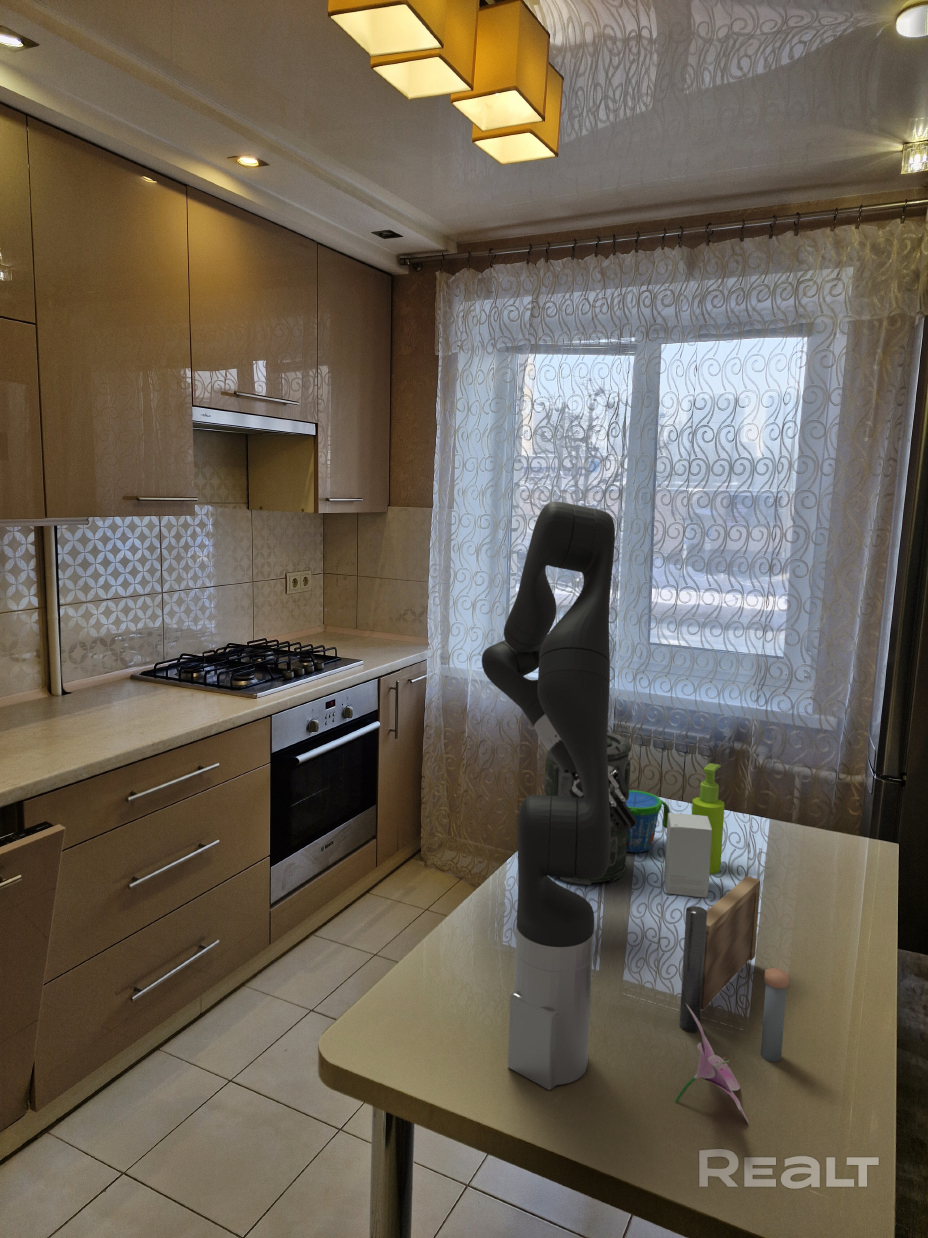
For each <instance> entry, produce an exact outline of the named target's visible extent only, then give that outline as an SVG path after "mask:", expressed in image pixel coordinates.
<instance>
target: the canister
mask: <svg viewBox="0 0 928 1238" xmlns="http://www.w3.org/2000/svg"><path fill="white" fill-rule="evenodd" d="M631 751H632V744H631V742H630V740H628V739H627V738H626V739H625V738H624V737H623V736H621V735H618V734H616V733H614V732H610V730H608V733H607V760H608V766H610V767H615V766H616V765H619V766H620V767H621V770H622V773H623V777H624V780H625V783H626V787H627V790H628V793H629V790H630V782H631V764H632V763H631V761H630V760H629V759H630V758H629V757H630V756H629V755H630V753H631ZM544 767H545V769H544V770H545V772H544V793H545V795H547V796H563V797H573V796H572V795H571V794H570V793H569V789H570V788H572V787H573V785H574V781H573V779H572V777H571V774H570V772H569V773H563V772H562V770H561V769H560V768H559V766H558V765H557V763H556V762H555V760H554V759H553V757H552V756H551V754H550V753H549V751H548V750H547V754H546V756H545V766H544ZM609 788H610V786H609ZM619 791H620V788H619ZM610 795H611V796H612V793H611V794H610ZM612 798H613V796H612ZM628 798H629V795H628V796H627V797H626V798H625V800H626V801H627V800H628ZM626 801H625V804H626ZM610 827H611V849H610V860H609V865H608V868H607V871H606V873H605V875H604V876H603V877H602V878H600V879H578V878H575V876H574V878H566V877H559V878H560V880H561V881H563V882H567V883H569V884H570V883H571V884H575V885H582V886H583V885H584V886H591V885H592V884H594V883H598V884H599V883H604V882H607V881H609V883H611V882H615V881H616V880H619V878H621V877H622V875H623V874H624V872H625V870H626V860H627V851H626V844H627V831H625V832H623V833H620V832H619V831H618V830H617V829H616V828H615V826H614V825H613V823H612V822H611V820H610Z"/></svg>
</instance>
